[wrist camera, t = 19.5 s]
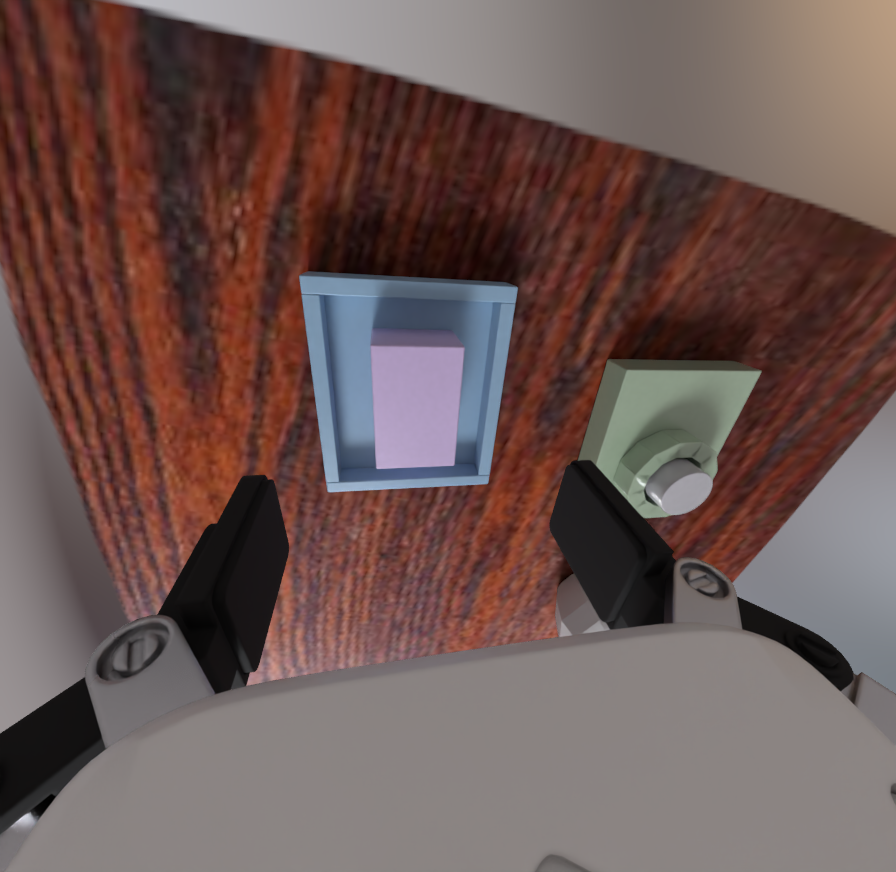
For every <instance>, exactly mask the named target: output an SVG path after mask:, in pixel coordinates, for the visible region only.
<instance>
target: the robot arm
mask: <svg viewBox="0 0 896 872" xmlns="http://www.w3.org/2000/svg"><path fill="white" fill-rule="evenodd" d="M550 531H551V533H552V535H553V537H554V538H555V540H556V542H557V544H558V546H559V547H560V549H561V551H562V553H563V555H564V556H565V558H566V560H567V562H568V563H569V565H570V567H571V569H572V571H573V572H574V574H575V576H576V578H577V579H578V581H579V583H580V585H581V587H582V588H583V590H584V592H585V594H586V595H587V597H588V599H589V601H590V603H591V604H592V606H593V608H594V610H595V611H596V613H597V615H598V617H599V618H600V620H601V621H603V622H606V624H607V625H608V627H609V629H610V630H606V631H599V632H592V633H585V634H578V635H570V636H563V637H556V638H549V639H542V640H535V641H528V642H521V643H514V644H507V645H500V646H493V647H486V648H479V649H473V650H466V651H459V652H452V653H445V654H438V655H432V656H425V657H418V658H412V659H405V660H399V661H392V662H385V663H379V664H372V665H365V666H359V667H352V668H346V669H339V670H333V671H327V672H321V673H315V674H309V675H303V676H297V677H291V678H285V679H279V680H273V681H268V682H263V683H259V684H254V685H250V686H246V684H247V681H248V677H249V674H250V672H255V671H256V670H257V668H258V666H259V663H260V659H261V655H262V651H263V648H264V644H265V640H266V636H267V633H268V629H269V625H270V621H271V618H272V614H273V610H274V606H275V603H276V599H277V595H278V591H279V588H280V584H281V580H282V577H283V573H284V569H285V565H286V562H287V558H288V553H289V543H288V538H287V534H286V530H285V526H284V522H283V517H282V513H281V509H280V505H279V500H278V496H277V492H276V488H275V483H274V481H273V480H268V479H267V477H266V476H265V475H253V476H243V477H242V478H241V479H240V481H239V483H238V485H237V487H236V489H235V491H234V492H233V494H232V496H231V498H230V500H229V502H228V504H227V506H226V508H225V509H224V511H223V513H222V515H221V517H220V519H219V521H218V523H217V524H210V525H209V526H208V527H207V528H206V529H205V531H204V532H203V534H202V536H201V538H200V539H199V541H198V543H197V545H196V547H195V548H194V550H193V552H192V554H191V556H190V557H189V559H188V561H187V563H186V564H185V566H184V568H183V570H182V572H181V573H180V575H179V577H178V579H177V580H176V582H175V584H174V586H173V588H172V589H171V591H170V593H169V595H168V597H167V598H166V600H165V602H164V604H163V605H162V607H161V609H160V611H159V613H158V614H157V615H150V616H147V617H143V618H139V619H137V620H135V621H132V622H130V623H128V624H126V625H124V626H123V627H121V628H120V629H118V630H117V631H115V632H114V633H112V634H111V635H110V636H109V637H107V638H106V639H105V640H104V641H103V642H102V643H101V644H100V645H99V646H98V648H97V649H96V650H95V651H94V653H93V654H92V655H91V657H90V659H89V661H88V664H87V666H86V669H85V678H83V679H81V680H80V681H78V682H77V683H75V684H74V685H73V686H71V687H69V688H68V689H66V690H65V691H63V692H62V693H60V694H59V695H57V696H56V697H54V698H53V699H51V700H50V701H48V702H47V703H45V704H44V705H43V706H41V707H39V708H38V709H36V710H35V711H33V712H32V713H30V714H29V715H27V716H26V717H24V718H23V719H21V720H20V721H18V722H17V723H15V724H14V725H12V726H11V727H9V728H8V729H6V730H5V731H3V732H2V733H0V872H896V694H895V693H894V692H892V691H890V690H889V689H887V688H886V687H884V686H883V685H881V684H880V683H878V682H876V681H875V680H873V679H872V678H870V677H869V676H867V675H865V674H864V673H862V672H861V673H860V674H859V675H855V674H854V673H853V671H852V668H851V667H850V664H849V663H848V661H847V660H846V659H845V658H844V656H843V655H842V654H841V653H840V652H839V651H838V650H837V649H836V648H835V647H834V646H833V645H832V644H830V643H829V642H828V641H826V640H825V639H823V638H822V637H821V636H819V635H817V634H815V633H814V632H812V631H810V630H808V629H806V628H804V627H802V626H800V625H797V624H795V623H793V622H791V621H789V620H787V619H785V618H782V617H780V616H778V615H776V614H774V613H772V612H769V611H767V610H765V609H763V608H761V607H759V606H757V605H754V604H752V603H750V602H748V601H746V600H743V599H741V598H739V597H737V594H736V591H735V588H734V585H733V584H732V583H731V581H730V580H729V579H728V577H726V576H725V575H724V574H723V573H722V572H721V571H720V570H718V569H717V568H715V567H714V566H712V565H710V564H708V563H706V562H704V561H702V560H698V559H695V558H687V557H685V558H680V559H678V560H677V561H676V560H675V559H674V558H673V557H672V554H673V552H674V551H673V550H672V549H671V548H670V547H669V546H668V545H667V544H666V543H665V541H664V540H663V539H662V538H661V537H660V536H659V535H658V534H657V533H656V532H655V530H654V529H653V528H652V527H651V526H650V525H649V524H648V523H647V522H646V520H645V519H644V518H643V517H642V516H641V515H640V514H639V513H638V512H637V510H636V509H635V508H634V507H633V506H632V505H631V504H630V503H629V502H628V500H627V499H626V498H625V497H624V496H623V495H622V494H621V493H620V492H619V490H618V489H617V488H616V487H615V486H614V485H613V484H612V483H611V482H610V480H609V479H608V478H607V477H606V476H605V475H604V474H603V473H602V472H601V470H600V469H599V468H598V467H597V466H596V465H595V464H594V463H593V462H592V461H591V460H576V461H572V462H571V464H570V465H568V466H567V467H566V469H565V473H564V476H563V479H562V483H561V486H560V489H559V493H558V496H557V499H556V503H555V506H554V509H553V513H552V516H551V520H550ZM231 689H232V690H231Z"/></svg>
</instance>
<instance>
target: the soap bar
mask: <svg viewBox="0 0 896 872" xmlns="http://www.w3.org/2000/svg"><path fill="white" fill-rule="evenodd" d="M370 351H371V372H372V394H373V415H374V437H375V458H376V468H377V469H388V468H411V467H434V466H454V464H455V455H456V443H457V432H458V420H459V409H460V397H461V386H462V374H463V363H464V351H465V347H464V345H463V344H462V343H461V341H460V340H459V339H458V337H457V336H456V335H455V334H454V332H453V331H452V330H429V329H391V328H372V333H371V344H370Z"/></svg>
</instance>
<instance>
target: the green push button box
mask: <svg viewBox="0 0 896 872" xmlns="http://www.w3.org/2000/svg"><path fill="white" fill-rule="evenodd" d="M761 372H762V371H761V370H758V369H755V368H752V367H749V366H747V365H744V364H741V363H738V362H735V361H702V360H635V359H608V360H607V363H606V366H605V370H604V373H603V377H602V380H601V383H600V387H599V390H598V394H597V397H596V400H595V404H594V407H593V410H592V414H591V417H590V421H589V424H588V427H587V431H586V434H585V438H584V441H583V444H582V448H581V451H580V454H579V458H578V460H591V461H592V462H593V463H594V464H595V465H596V466H597V467H598V468H599V469H600V470H601V472H602V473H603V474H604V475H605V476H606V477H607V478H608V479H609V480H610V482H611V483H612V484H613V485H614V486H615V487H616V488H617V489H618V490H619V492H620V493H621V494H622V495H623V496H624V497H625V498H626V499H627V500H628V502H629V503H630V504H631V505H632V506H633V507H634V508H635V509H636V510H637V512H638V513H639V514H640V515H641V516H642V517H644V518H656V517H668V516H670V515H671V514H668V513H666V512H664V511H663V510H662V509H661V508H660V507H659V506H658V505H657V504H656V503H655V502H654V501H653V500H652V499H651V498H650V497H649V496H648V495H647V493H646V491H645V486H646V484H647V482H648V479H649V477H650V476H652V475H653V474H654V473H655V472H656V471H657V470H658V469H659V468H660V467H661V466H662V465H663V464H665V463H667V462H670V461H672V460H674V459H676V458H683V459H687V460H689V461H691V462H692V463H693V464H695V465H696V466H697V467H699V468H700V469H702V470H703V471H704V472H706V473H707V474H708V475H710V477H711V478H712V480H713V479H714V477H715V475H716V473H717V471H718V467H717V456H718V454H719V452H720V450H721V448H722V446H723V444H724V442H725V441H726V439H727V437H728V435H729V433H730V431H731V429H732V427H733V425H734V423H735V422H736V420H737V418H738V416H739V414H740V412H741V410H742V408H743V406H744V404H745V403H746V401H747V399H748V397H749V395H750V393H751V391H752V389H753V387H754V385H755V383H756V382H757V380H758V378H759V376H760V374H761Z"/></svg>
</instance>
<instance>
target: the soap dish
mask: <svg viewBox="0 0 896 872" xmlns="http://www.w3.org/2000/svg"><path fill="white" fill-rule="evenodd" d="M299 279H300V286H301V293H302V301H303V309H304V317H305V324H306V332H307V339H308V347H309V355H310V362H311V370H312V378H313V385H314V393H315V401H316V408H317V416H318V423H319V431H320V439H321V446H322V454H323V462H324V469H325V477H326V482H327V483H326V484H327V491H328V492H341V491H360V490H379V489H399V488H418V487H437V486H457V485H476V484H488V480H489V474H490V468H491V461H492V455H493V448H494V442H495V435H496V428H497V422H498V415H499V409H500V402H501V395H502V389H503V382H504V375H505V369H506V362H507V356H508V349H509V342H510V336H511V329H512V323H513V316H514V309H515V303H516V297H517V290H518V287H517V286H514V285H511V284H509V283H506V282H492V281H474V280H456V279H438V278H420V277H402V276H383V275H365V274H347V273H329V272H311V271H308V272H306V273H303V274H301V275H299ZM372 328H391V329H429V330H452V331H453V332H454V334H455V335H456V336H457V337H458V339H459V340H460V341H461V343H462V344H463V345H464V347H465V351H464V363H463V374H462V386H461V397H460V409H459V420H458V432H457V443H456V455H455V464H454V466H434V467H411V468H388V469H377V468H376V458H375V437H374V415H373V394H372V372H371V351H370V344H371V333H372Z"/></svg>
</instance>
